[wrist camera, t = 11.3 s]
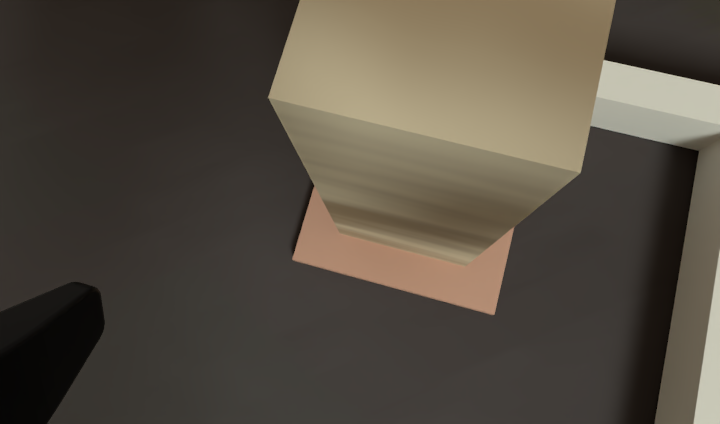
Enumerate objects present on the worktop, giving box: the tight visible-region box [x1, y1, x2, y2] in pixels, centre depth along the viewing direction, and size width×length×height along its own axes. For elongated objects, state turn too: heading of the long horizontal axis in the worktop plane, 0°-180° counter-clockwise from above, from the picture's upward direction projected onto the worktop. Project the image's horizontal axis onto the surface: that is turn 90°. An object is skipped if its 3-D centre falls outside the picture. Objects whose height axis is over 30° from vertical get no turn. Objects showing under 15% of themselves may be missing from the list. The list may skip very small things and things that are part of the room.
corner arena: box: [292, 60, 720, 424], centre depth 20 cm, size 18×17×2 cm
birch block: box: [268, 0, 616, 267], centre depth 15 cm, size 5×5×13 cm
